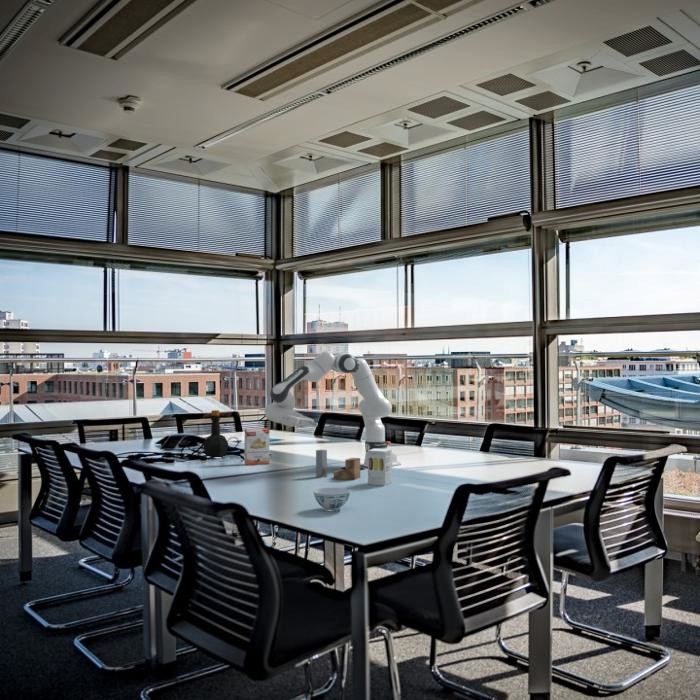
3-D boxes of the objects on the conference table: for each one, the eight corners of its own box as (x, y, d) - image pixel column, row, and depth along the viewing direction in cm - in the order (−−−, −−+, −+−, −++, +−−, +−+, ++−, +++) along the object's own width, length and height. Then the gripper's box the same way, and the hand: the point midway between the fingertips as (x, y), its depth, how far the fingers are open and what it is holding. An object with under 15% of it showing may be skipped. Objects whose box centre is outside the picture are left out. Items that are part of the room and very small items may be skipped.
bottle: (208, 460, 442) (207, 411, 442) (199, 457, 456) (199, 410, 456) (232, 458, 450) (232, 410, 450) (223, 455, 464) (222, 409, 464)
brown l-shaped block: (333, 478, 367) (333, 459, 367) (339, 476, 374) (339, 457, 374) (354, 479, 362) (354, 460, 363) (360, 477, 370) (360, 458, 370)
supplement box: (367, 484, 348) (366, 450, 348) (374, 481, 356) (374, 448, 357) (385, 486, 344) (385, 451, 344) (392, 482, 352) (391, 448, 353)
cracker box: (246, 465, 416) (246, 429, 416) (244, 464, 422) (244, 429, 422) (270, 464, 421) (269, 428, 422) (267, 462, 427) (266, 427, 427)
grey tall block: (316, 477, 373) (315, 450, 373) (321, 476, 376) (320, 449, 376) (322, 477, 370) (321, 450, 370) (327, 476, 373) (326, 450, 374)
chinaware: (351, 505, 298) (351, 487, 298) (349, 513, 283) (348, 494, 283) (315, 505, 299) (315, 487, 299) (311, 513, 284) (311, 494, 284)
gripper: (282, 411, 374) (304, 417, 367) (301, 413, 392) (323, 419, 386) (279, 422, 373) (302, 429, 367) (298, 424, 392) (320, 431, 385)
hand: (312, 424), depth 377 cm, fingers open, 8 cm apart
